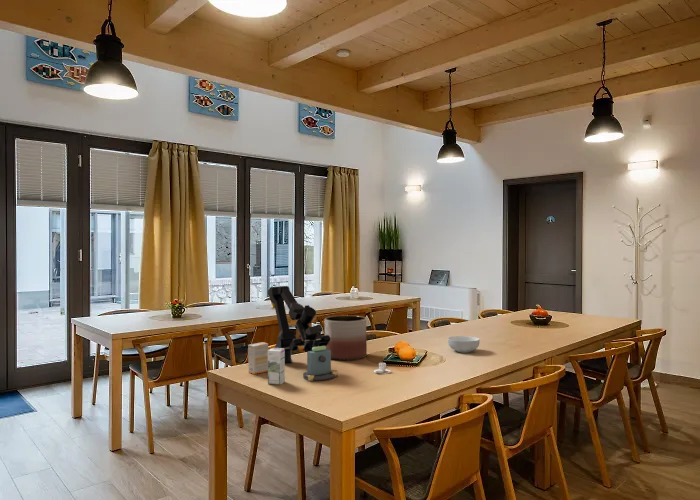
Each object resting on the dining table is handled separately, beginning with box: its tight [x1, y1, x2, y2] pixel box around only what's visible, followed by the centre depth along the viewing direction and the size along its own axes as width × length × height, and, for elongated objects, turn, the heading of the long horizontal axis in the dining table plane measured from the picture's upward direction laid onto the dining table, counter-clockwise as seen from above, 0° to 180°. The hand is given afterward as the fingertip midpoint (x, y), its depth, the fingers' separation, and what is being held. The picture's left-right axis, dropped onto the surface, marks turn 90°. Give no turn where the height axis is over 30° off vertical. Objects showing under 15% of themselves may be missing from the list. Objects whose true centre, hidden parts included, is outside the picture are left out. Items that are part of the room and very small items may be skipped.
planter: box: [324, 314, 368, 361], centre depth 263 cm, size 22×22×20 cm
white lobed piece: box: [373, 362, 392, 375], centre depth 232 cm, size 9×8×4 cm
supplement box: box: [247, 341, 269, 375], centre depth 232 cm, size 8×5×13 cm, turn 134°
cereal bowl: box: [447, 335, 480, 354], centre depth 274 cm, size 17×17×7 cm
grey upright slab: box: [306, 346, 332, 375], centre depth 222 cm, size 6×10×12 cm, turn 123°
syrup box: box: [267, 347, 286, 386], centre depth 214 cm, size 6×6×14 cm
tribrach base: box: [302, 369, 339, 383], centre depth 224 cm, size 15×15×2 cm
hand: (316, 358), depth 224 cm, fingers closed, pressing on grey upright slab
